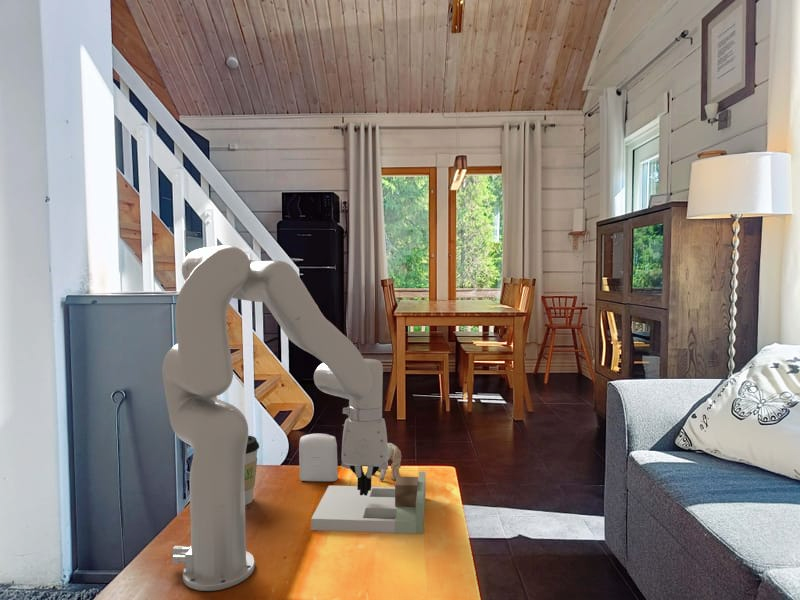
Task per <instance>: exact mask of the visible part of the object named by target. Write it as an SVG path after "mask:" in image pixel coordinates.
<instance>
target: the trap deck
mask: <svg viewBox="0 0 800 600" xmlns="http://www.w3.org/2000/svg"><path fill="white" fill-rule="evenodd" d="M425 509H426V471H419V472H418V488H417V497H416V507H395V486H371V491H368V494H367V496H365V495H364V494H363V495H360V490H357V485H331V484H330V485H328V486H327V487H326V490H325V492H324V494H323V496H322V498H321V499H320V501H319V503H318V505H317V507H316V509H315V510H314V513H313V514H312V517H311V519H310V520H311V522H310V523H311V524H310V529H311V531H330V532H333V531H335V532H356V531H357V533H359V532H362V533H363V532H364V533H388V534H389V533H391V534H394V533H396V534H420V535H421V534H422V535H423V534H424V524H425V523H424V522H425V511H426V510H425Z"/></svg>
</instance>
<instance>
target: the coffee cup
mask: <svg viewBox="0 0 800 600" xmlns="http://www.w3.org/2000/svg"><path fill="white" fill-rule="evenodd" d="M259 448H260V444H259V442H258V441H257V438H256V437H255V436H253V435H248V441H247V447H246V454H245V469H244V474H245V505H246V506H247V504H248V505H249V503H250V504H251V503H252V502H253V500H254V489H255V484H256V476H257V475H256V474H257V466H258V456H257V455H258V449H259Z"/></svg>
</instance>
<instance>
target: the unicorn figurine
mask: <svg viewBox="0 0 800 600" xmlns="http://www.w3.org/2000/svg"><path fill="white" fill-rule="evenodd" d="M342 426H343V427H344V424H342ZM389 460H391V461H392V463H391V465H390V469H391V472H390V473H391V476H392V477H391V480H392V481H396V478H397V477H401V473H400V469H401V461H402V452H401V450H400V449H399V447H398V446H397V445H395V444H394V443H391V442H387V461H388V462H389ZM388 469H389V467H388V468H387V469H383V470H378V471H377V472H380V473H379V481H380V482H382V481H384V480H385V476H386V473H387V472H386V471H387V470H388ZM375 475H376V473H375V474H374V476H375Z"/></svg>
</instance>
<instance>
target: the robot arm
mask: <svg viewBox="0 0 800 600" xmlns="http://www.w3.org/2000/svg"><path fill="white" fill-rule="evenodd" d="M181 274H182V277H183V279H184V281H185V282H184V283H183V285H182V287H181V288H180V291H179V294H178V296H177V299H176V304H175V308H174V309H175V310H174V318H175V319H174V322H175V329H176V330H175V332H176V340H177V341H176V342H177V343H176V344H175V345H173V346H172V347H171V348H170V349H169V350H168V351H167V353H166V355H165V356H164V359H163V361H162V362H163V363H162V369H161V371H162V372H161V373H162V374H161V375H162V382H163V388H164V394H165V400H166V405H167V413H168V417H169V422H170V426H171V428H172V431H173V433H174V435H175V436H176V437H177V438H178V439H179V440H181V441H182V442H184V443H185V444H187V445H189V446H190V447H192V449H193V451H192V452H193V454H192V461H191V464H190V465H191V466H190V470H189V471H190V473H189V507H190V510H189V511H190V514H189V515H190V546H185V545H174V546H173V548H172V550H171V557H172V558H171V562H172V563H173V564H181V563H182V564H184V565H185V566H184V568H183V569H182V582H183V583H184V585H185V586H186V587H188V588H189V589H193V590H196V591H201V592H202V591H204V592H213V591H214V592H215V591H221V590H224V589H229V588H230V587H233V586H236V585H238V584H240V583H242V582H243V581H246V579H248V578H249V576H251V575H252V574H253V572H254V570H255V567H256V561H255V557H254V555H253V554H252V553H251V552H249V551H247V541H246V540H247V537H246V536H247V535H246V532H247V530H246V506H245V474H244V469H245V454H246V447H247V441H248V436H249V425H248V420H247V418H246V416H245V415H244V414H243V412H242V411H241V410H240V409H239V408H238V407H236V406H234V405H233V404H231V403H229V402H226V401H224V400H221V399H218V396H220V395H222V394H224V393H225V392H226V391H227V390H228V389H229V387H231V384H232V382H233V378H234V366H233V360H232V354H231V346H230V341H229V334H228V325H227V323H228V322H227V314H228V313H227V312H228V306H229V305H230V302H231V301H232V299H237V300H241V301H243V300H244V301H249V302H259V303H264V304H265V307H267V309H268V310H269V312H270V313H271V314H272V316H273V318H274V319H275V320H276V322H277V324H278V325H279V326H280V328H281V329H282V332H284V334H285V336H286V337H287V338H288V340H289V341H291V343H293V344H294V345H295V346H297V347H298V348H300V349H301V350H303V351H304V352H307V353H309V354H311V355H312V356H314V357H315V358H316V359H318V360H319V361H320V362H321V363H320V364H319V365H318V366H317V367H316V369H315V370H314V373H313V381H314V385H315V386H316V388H317V389H319V391H321V392H323V393H325V394H328V395H331V396H335V397H339V398H342V399H346V400H349V401H348V406H347V407H343V408H342V414H343V415H344V414H345V415H347V416H348V417H347V418H346V419H345V421H344V424H343V425H344V426H343V431H342V441H341V442H342V443H341V468H345V469H349V470H350V471H351V472H353V473H354V475H355V477H356V478H357V485H356V486H357V490H360V495H363V494H364V495H365V496H367V494H368V491H371V487H372V477H373V475H374V474H375V475H376V473H377V472H379V471H378V470H380V471H382V470H383V469H387V468H388V469H389V463H388V462H389V460H388V461H387V443H388V434H387V426H386V421H385V418H383V384H384V383H383V379H384V378H383V374H384V367H383V362H381V360H378V359H374V358H364V357H363V355H362V354H361V352H360V350H359V349H358V348H357V347H356V346H355V344H354V343H353V342H352V340H350V339H349V337H347V336H346V335H345V334H343V332H341V331H340V330H339V329H338V328H337V326H335V325H334V324H333V323H332V322H331V321H330V320H328V319H327V318H326V317H325V316H324V314H323V313H322V312H321V310H320V308H319V306H318V304H317V303H316V302H315V300H314V299H313V297H312V295H311V293H310V292H309V291H308V288H307V287H306V285H305V283H304V282H303V280H302V279H301V278H300V276H299V274H298V272H297V271H296V270H295V269H294V267H293V266H292V265H291V264H290V263H288V262H286V261H284V260H283V261H282V260H276V259H275V260H251V259H249V257H248V255H247V253H246V252H245V251H243V250H242V249H240V248H239V247H236V246H231V245H217V246H211V247H202V248H201V247H200V248H198V249H195V250H193V251H191V252H189V253H188V254H187V256H185V258H184V260H183V262H182V265H181ZM364 467H367V468H366V472H365V473H364V470H363V468H364ZM375 475H374V476H375Z"/></svg>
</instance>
